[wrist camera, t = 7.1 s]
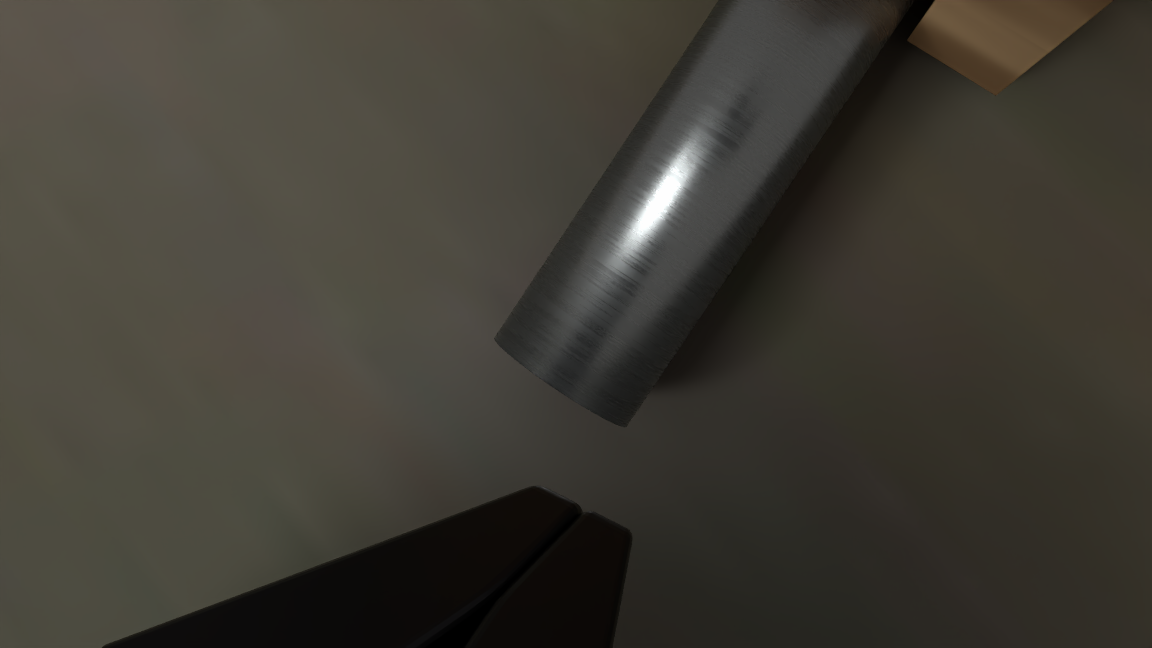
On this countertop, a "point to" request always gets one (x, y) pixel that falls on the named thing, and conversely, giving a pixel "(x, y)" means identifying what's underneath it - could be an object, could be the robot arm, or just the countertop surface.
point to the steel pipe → (690, 193)
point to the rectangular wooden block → (998, 34)
